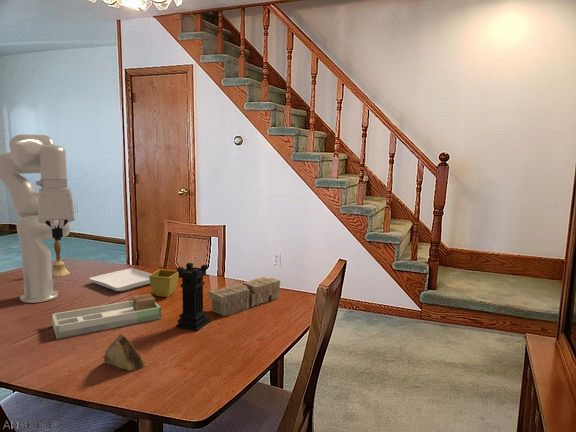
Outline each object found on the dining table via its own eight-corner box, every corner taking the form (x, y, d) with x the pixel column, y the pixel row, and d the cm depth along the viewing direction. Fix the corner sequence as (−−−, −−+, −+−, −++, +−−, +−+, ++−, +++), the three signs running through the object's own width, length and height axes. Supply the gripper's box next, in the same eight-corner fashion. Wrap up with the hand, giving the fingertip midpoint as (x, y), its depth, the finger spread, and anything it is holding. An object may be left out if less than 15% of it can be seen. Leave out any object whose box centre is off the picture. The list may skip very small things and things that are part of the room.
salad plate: (131, 274, 202) (131, 267, 202) (161, 283, 190) (161, 275, 189) (87, 285, 185) (87, 277, 185) (117, 296, 173) (117, 288, 172)
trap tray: (52, 325, 144) (51, 313, 143) (151, 307, 161) (151, 297, 160) (56, 339, 134) (56, 326, 133) (161, 318, 151) (161, 307, 151)
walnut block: (133, 308, 154) (132, 296, 154) (150, 305, 158) (150, 293, 157) (137, 314, 149) (137, 301, 149) (155, 311, 153) (155, 298, 152)
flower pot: (169, 299, 170) (169, 277, 168) (149, 297, 171) (148, 275, 170) (179, 292, 178) (179, 270, 177) (159, 290, 180) (159, 269, 178)
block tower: (266, 296, 180) (207, 312, 159) (266, 275, 179) (207, 289, 158) (279, 301, 174) (221, 318, 153) (280, 280, 173) (221, 294, 152)
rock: (91, 356, 119) (103, 366, 111) (108, 327, 122) (121, 334, 114) (125, 370, 125) (139, 380, 117) (141, 341, 128) (155, 349, 120)
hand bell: (55, 278, 192) (53, 242, 190) (45, 275, 197) (43, 240, 194) (73, 274, 199) (71, 239, 196) (63, 270, 203) (61, 237, 201)
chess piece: (209, 322, 149) (209, 264, 146) (197, 331, 142) (196, 271, 139) (189, 318, 152) (188, 262, 149) (176, 327, 145) (174, 268, 141)
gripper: (28, 186, 136) (32, 244, 139) (81, 184, 144) (84, 239, 147) (27, 184, 142) (30, 239, 145) (77, 182, 150) (80, 235, 153)
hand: (57, 239), depth 146 cm, fingers closed
